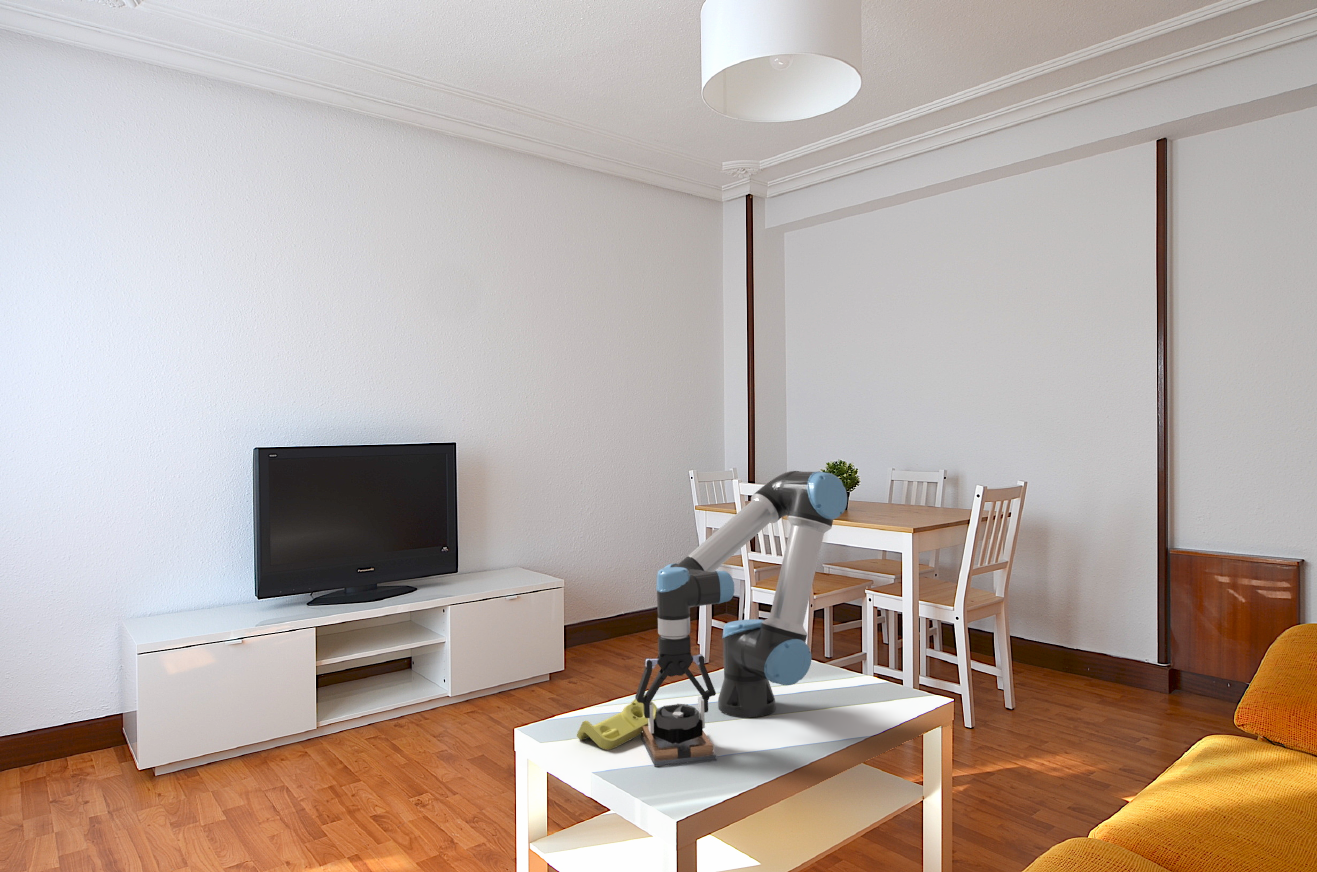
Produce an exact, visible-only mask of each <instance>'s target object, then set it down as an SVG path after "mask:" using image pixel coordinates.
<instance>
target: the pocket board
mask: <svg viewBox="0 0 1317 872" xmlns="http://www.w3.org/2000/svg"><path fill="white" fill-rule="evenodd" d="M639 736H640V739H641V741H642V744H643V746H644V748H645V749H646V751H647V754H648V756H649V758H650V760H651V763H652V764H653V766H654V768H656V767H666V766H676V765H685V764H686V765H687V764H695V763H703V762H712V761H713V762H715V761H717V754H716V753H715V751H714V744H713V742H712V741H711V739H710V738H709V737H708V736H707V734H706V732H705V731H704V730H703V736H700V737H697V738H693V739H691V740H688V741H685V742H681V743H679V744H677V743H673V744H672V743H670V742H668V741H666V740H663V739H661V738H659V737H656V736H655V735H652V734H651V733H650V731H649V729H648V726H642V731H641V733H640V735H639Z"/></svg>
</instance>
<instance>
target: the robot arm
mask: <svg viewBox="0 0 1317 872" xmlns="http://www.w3.org/2000/svg"><path fill="white" fill-rule="evenodd" d="M847 503H848V495H847V491H846V487H845V486H844V483H843V482H842V480H841V479H840V478H839V477H838V476H837V475H835V474H833V473H830V472H824V471H798V470H792V471H791V470H790V471H787V472H783V473H781V474H779V475H777V476H776V477H774V478H773V479H771V480H770V481H768V482H767V483H766V484H763V486H762V487H761V488H759V489H758V490H757V491H756V492H755V493H753V494H752V495H751V497H750V502H748V504H747V505H745V506H744V507H743V508H741V509H740V510H739V511H738V512H737V513H736V514H735V515H734V516H732V517H731V518H730V519H729V520H728V521H727V522H725V523H724V524H723V525H722V526H721V527H720V528H719V529H717V530H716V531H715V532H713V534H711V535H710V536H709V537H708V538H707V539H705V541H704V542H702V543H701V544H700V545H699V546H697V548H695V549H694V550H693V551H691V552H690V553H689V554H688V555H687V556H686V557H685V558H684V559H682V560H681V561H679V562H678V563H669V564H667V565H665V567H663V568H661V569H659V570H658V571H657V574H656V587H655V589H656V603H657V604H656V605H657V608H656V609H657V634H658V635H659V636H658V638H657V641H658V645H657V647H658V648H657V649H658V655H657V658H650V657H645V659H644V670H643V673H642V677H641V679H640V682H639V684H638V686H637V687H638V688H637V691H636V693H635V698H636V700H637V702H638V703H643V706H644V716H645V718H648V729H649V731H650V733H651V734H652V733H654V718H653V704H652V702H653V701H652V700H653V698H654V697H655V696H656V694H657V693H658V690H659V689H660V688H661V686H662V684H663V683H664V681H665V680H666V679H667V677H670V678H671V677H675V676H679V677H681V676H683V675H686V676H687V678H688V679H689V681H690V682H691V683H692V684H693V686H694V688H695V689H696V690H697V692H698V693H699V694H700V696H698V697H697V705H698V706H697V708H698V709H697V710H698V711H699V719H700V720H703V729H705V728H706V725H705V723H706V722H705V713H708V712H709V700H710V698H711V697H714V696H716V694H717V693H716V689H715V687H714V685H713V682H712V679H711V677H710V674H709V673H708V670H707V667H706V665H705V663H706V662H705V656H703V654H702V653H698V654H697V655H696V654H695V655H692V650H691V648H692V647H691V646H692V645H691V643H692V642H691V636H690V633H691V616H690V615H691V608H695V607H702V606H703V607H704V606H710V605H716V604H717V605H720V604H722V603H726V602H729V601H731V600H732V598H733V597H734V594H735V582H734V579H733V577H732V575H731V574H730V572H728V571H726V570H719V571H718V569H719V568H720V567H721V566H722V565H723V564H725V563H726V562H727V561H728V560H729V559H731V558H732V556H734V555H735V554H736V553H737V552H739V550H741V549H742V547H744V546H745V545H746V544H748V542H750V541H751V540H752V539H754V538H755V536H756V535H757V534H759V533H760V532H762V530H763V529H764V528H766V527H767V526H768V525H769V524H776V523H777V522H778V521H779V520H781V519H782V518H784V517H786V519H787V521H788V522H789V524H790V528H789V533H788V536H787V537H788V538H787V542H786V545H785V550H784V554H783V559H782V562H781V566H780V567H781V568H780V571H779V574H778V575H779V576H778V579H777V583H776V588H775V593H774V597H773V599H772V600H773V601H772V604H771V605H772V606H771V610H770V614H769V616H768V618H766V619H755V618H754V619H752V618H751V619H739V620H738V619H737V620H734V621H733V620H732V621H728V622H727V623H725V625H724V626H723V630H722V645H723V650H722V651H723V682H722V684H721V689H720V692H719V694H718V698H717V704H718V705H717V707H718V710H719V711H720V712H721V713H723V714H724V715H725V714H726V715H729V716H733V717H738V718H757V717H763V716H764V717H765V716H767V715H768V716H769V714H770V715H771V714H772V713H774V712H775V710H776V698H775V695H774V693H773V689H772V687H771V683H772V684H778V685H781V686H792V685H795V684H797V683H798V682H799V681H801V680H803V679H804V678H805V676H806V675H808V674H807V673H808V672H809V670H810V668H811V666H812V665H811V664H812V652H811V649H810V647H809V645H808V644H807V642H806V641H807V637H808V632H807V631H806V629H805V627H804V623H805V619H806V614H807V610H808V607H809V606H808V605H809V602H810V596H811V592H812V588H813V583H814V581H815V574H816V570H817V565H818V561H819V558H820V553H821V548H822V545H823V539H824V536H825V533H827V532H828V531H830V530H831V529H832V526H833V522H834V520H835V519H838V518H840V517H841V515H843V513H845V511H846V508H847ZM693 662H694V663H695V665H696V666H698V670H699V672H700V675H701V676H702V678H703V681H704V684H705V687H706V689H707V690H705V689H704V688H703V686H702V685H701V684H700V682H699V681H698V679H697V678H696V677H695V676H694V674H693V672H692V671H691V670H690V669H689V668H690V667H691V666H692V664H693ZM656 665H658V667H659V668H660V669H659V670H658V671H657V675H656V677H655V678H654V680H653V681H652V683H651V684H650V687H648V685H649V681H650V678H651V675H652V672H653V670H655V667H656ZM770 682H771V683H770ZM647 688H648V689H647ZM646 690H647V691H646ZM644 695H645V696H644ZM635 698H634V699H635ZM651 701H652V702H651Z"/></svg>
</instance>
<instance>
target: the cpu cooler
mask: <svg viewBox="0 0 1317 872" xmlns="http://www.w3.org/2000/svg"><path fill="white" fill-rule="evenodd" d="M703 731H704V728H703V720H700V719H699V711H698V709H697V708H696V707H695V706H692V705H689V704H687V703H676V704H669V705H663V706H661V707H659V708H657V710H656V714H655V719H654V733H652V735H655V736H656V737H659V738H661V739H663V740H666V741H668V742H670V743H672V744H673V743H677V744H679V743H681V742H685V741H688V740H691V739H693V738H697V737H700V736H703Z"/></svg>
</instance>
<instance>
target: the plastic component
mask: <svg viewBox="0 0 1317 872" xmlns="http://www.w3.org/2000/svg"><path fill="white" fill-rule="evenodd" d="M644 696H645V694H644ZM651 702H652V704H653V718H654V719H655V714H656V710H657V709H658V707H657V704H655V703H654V702H653V701H652V700H651ZM642 726H648V718H645V716H644V706H643V703H638V702H637V700H636V698H634V699H633V701H632V702H631V703H629V704H627V705H625V706H624V708H623V709H622V711H621V712H618V713H617V714H615V715H612V716H610V717H609V718H607V719H604V720H602V721H600V722H598V723H596V724H592V723H591V722H590V721H589V720H583V721H582V723H581V725H580V727H579V729H578V731H577V733H576V737H577V739H578V740H581V741H583V740H586V739H588V738H590V739H591V740H592V741H593V742H594V743H595V744H596V745H597V747H599V748H600V749H602V750H606V751H608V750H609V751H610V750H612V749H613V750H614V749H615V748H618V747H619V746H621V745H623V744H625V743H626V742H628V741H630V740H633V739H634V738H636V737H638V736H640V733H641V732H642Z"/></svg>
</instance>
